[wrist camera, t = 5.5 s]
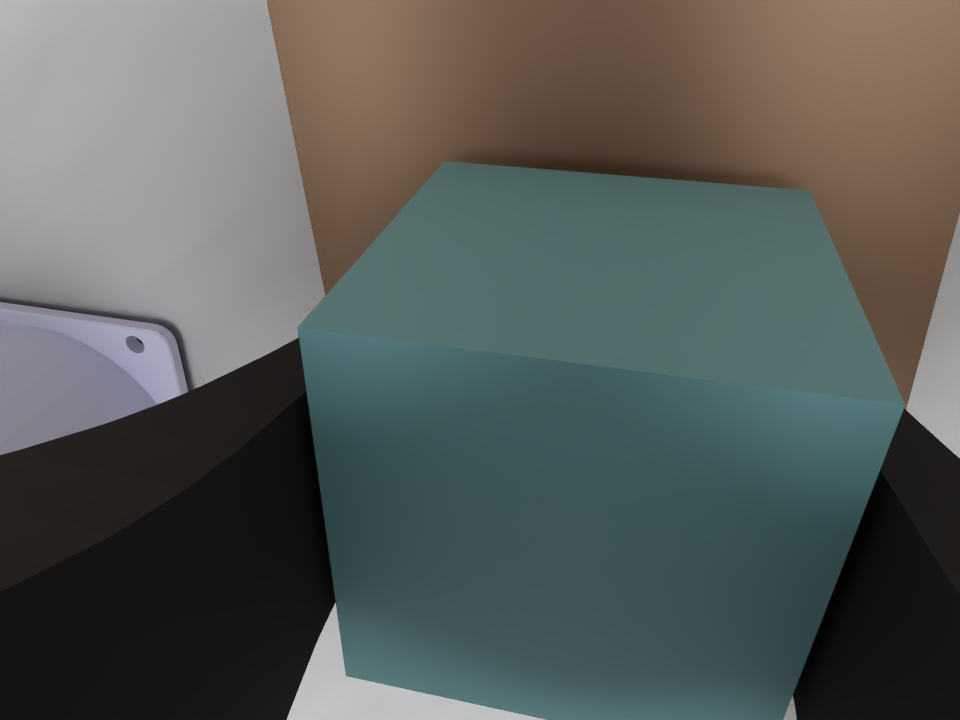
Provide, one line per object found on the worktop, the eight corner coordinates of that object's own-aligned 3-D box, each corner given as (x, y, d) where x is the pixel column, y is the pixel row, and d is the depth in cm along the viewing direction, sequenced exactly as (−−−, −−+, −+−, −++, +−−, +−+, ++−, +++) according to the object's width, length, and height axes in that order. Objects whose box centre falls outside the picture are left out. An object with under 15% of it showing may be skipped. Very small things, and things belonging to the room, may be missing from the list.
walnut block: (417, 382, 19) (362, 483, 16) (356, -60, 14) (257, -48, 11) (834, 408, 17) (872, 532, 14) (942, -108, 12) (1046, -111, 8)
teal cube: (448, 435, 13) (345, 675, 9) (444, 160, 11) (297, 327, 7) (736, 478, 12) (765, 766, 8) (810, 190, 10) (904, 404, 6)
